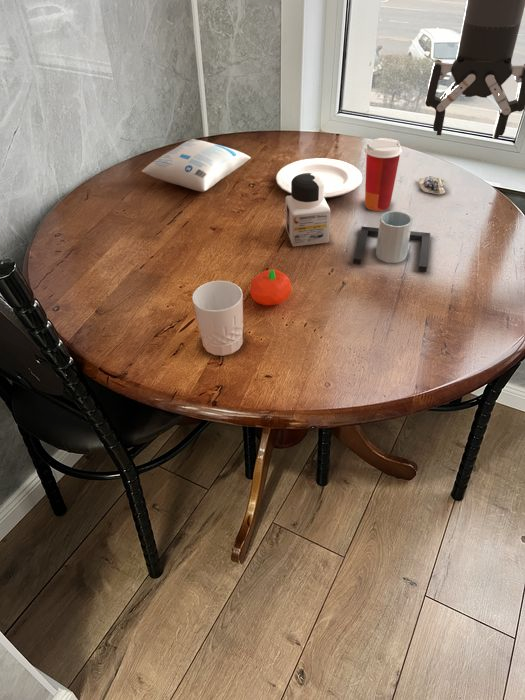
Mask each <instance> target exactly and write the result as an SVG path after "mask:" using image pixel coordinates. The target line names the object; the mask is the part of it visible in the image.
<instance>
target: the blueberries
mask: <svg viewBox="0 0 525 700" xmlns="http://www.w3.org/2000/svg"><path fill="white" fill-rule="evenodd" d="M418 184H419V188H420V189H421V191H422V192H424V193H430V194H433V195H438V196H441V195H444V194H445V193H446V190H445V188H444V187H445V182H444V179H442V178H438V177H433V176H430V175H429V176H426V177H424V178H423V177H422V178H421V177H420V178H418Z"/></svg>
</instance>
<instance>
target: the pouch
mask: <svg viewBox="0 0 525 700" xmlns="http://www.w3.org/2000/svg"><path fill="white" fill-rule="evenodd" d="M251 158H252V157H251V156H249V155H248V154H246V153H244V152H242V151H239V150H236V149H234V148H230V147H228V146H224V145H220V144H216V143H212V142H210V141H209V142H208V141H205V140H200V139H194V138H192V139H188V140H186V141H185V142H182V143H180V144H179V145H178V146H176V147H175V148H173V149H171V150H170V151H168V152H165V153H164V154H162V155H161V156H159V157H157V158H156V159H154V160H153V161H152V162H150V163H149V164H148V165H146V166H145V167H144V168H143V169H142V170H141V173H144V174H146V175H148V176H150V177H151V178H154V179H157V180H161V181H164V182H167V183H170V184H172V185H177V186H181V187H184V188H186V189H190V190H192V191H197V192H200V193H204V192H207V191H208V190H209V189H211V188H212V187H214V186H215V185H216V184H217V183H219V182H220V181H221V180H223V179H224V178H225V177H227V176H229V175H231V174H232V173H233V172H234V171H236V170H238V169H239V168H240V167H241V166H243V165H244V164H246V163H247V162H248V161H250V159H251Z"/></svg>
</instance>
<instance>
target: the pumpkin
mask: <svg viewBox="0 0 525 700" xmlns="http://www.w3.org/2000/svg"><path fill="white" fill-rule="evenodd" d="M249 294H250V296H251V298H252V300H253V301H254V302H256V303H257V304H259V305H261V306H262V305H263V306H275V305H278V304H281V303H284V302H285V301H286V300H287V299H288V298H289V297H290V295H291V294H292V284H291V279H290V278H289V277H288V275H287V274H286V273H284V272H282V271H281V270H278V269H276V268H271V269H267V270H265V271H263V272H261V273H259V274H258V275H256V276H254V277H253V278H252V280H251V282H250V286H249Z"/></svg>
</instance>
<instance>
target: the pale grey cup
mask: <svg viewBox="0 0 525 700" xmlns="http://www.w3.org/2000/svg"><path fill="white" fill-rule="evenodd" d="M413 220H414V219H413V217H412V216H411V215H410V214H409V213H407V212H404V211H401V210H400V211H399V210H390V211H386V212H383V213H382V214H381V215H380V217H379V223H378V228H379V231H378V237H377V240H376V248H375V256H376V257H377V259H378V260H380V261H382V262H385V263H389V264H391V263H392V264H396V263H401V262H403V261H405V259H406V258H407V255H408V250H409V249H408V248H409V244H410V240H409V238H410V232H411V231H412V225H413Z"/></svg>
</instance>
